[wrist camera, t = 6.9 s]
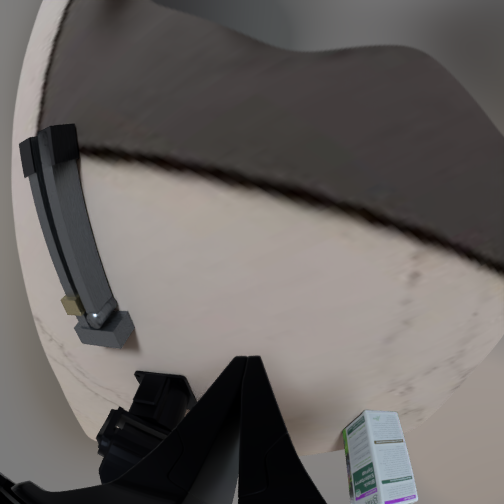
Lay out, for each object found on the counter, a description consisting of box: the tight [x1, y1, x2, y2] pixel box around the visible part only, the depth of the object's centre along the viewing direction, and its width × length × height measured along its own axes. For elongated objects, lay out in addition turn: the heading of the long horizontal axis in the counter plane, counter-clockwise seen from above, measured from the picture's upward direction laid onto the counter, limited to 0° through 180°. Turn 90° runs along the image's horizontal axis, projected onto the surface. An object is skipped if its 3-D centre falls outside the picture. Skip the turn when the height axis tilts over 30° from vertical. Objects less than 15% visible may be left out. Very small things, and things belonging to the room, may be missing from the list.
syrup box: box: [342, 410, 418, 504], centre depth 23 cm, size 6×6×14 cm
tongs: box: [19, 136, 135, 349], centre depth 20 cm, size 20×5×4 cm, turn 7°
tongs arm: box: [38, 124, 117, 329], centre depth 19 cm, size 17×2×3 cm, turn 5°
